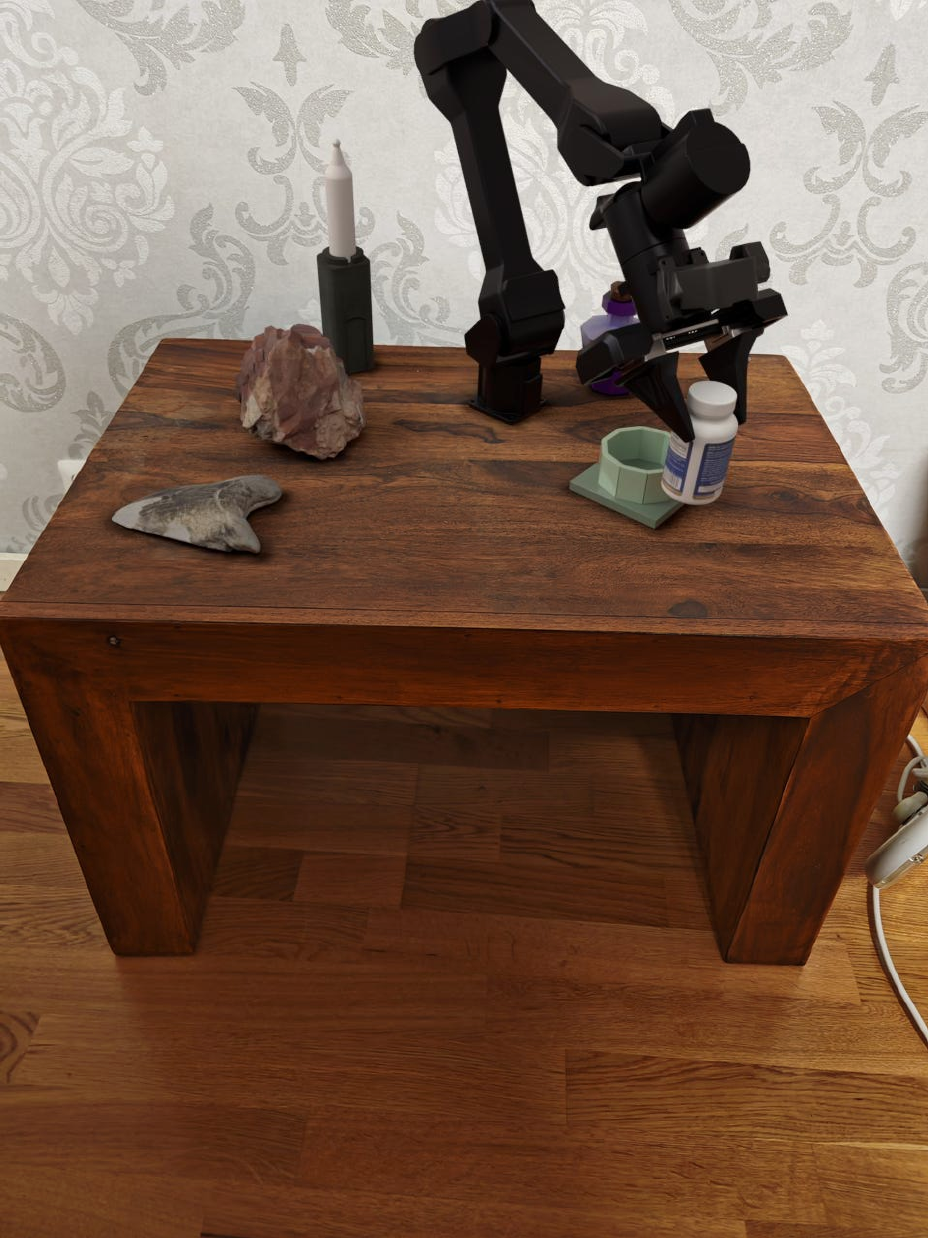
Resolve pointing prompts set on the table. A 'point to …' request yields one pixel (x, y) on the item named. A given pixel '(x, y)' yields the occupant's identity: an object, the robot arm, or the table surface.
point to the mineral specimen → (299, 392)
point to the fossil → (204, 512)
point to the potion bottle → (617, 316)
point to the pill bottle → (702, 446)
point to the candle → (345, 274)
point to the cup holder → (630, 475)
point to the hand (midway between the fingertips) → (715, 432)
